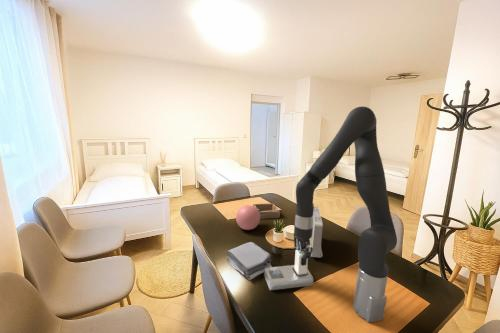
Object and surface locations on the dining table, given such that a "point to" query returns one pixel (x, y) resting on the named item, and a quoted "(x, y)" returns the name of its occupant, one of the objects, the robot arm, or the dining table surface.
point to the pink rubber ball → (248, 217)
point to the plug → (298, 266)
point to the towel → (249, 259)
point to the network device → (316, 234)
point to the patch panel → (286, 277)
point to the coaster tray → (268, 214)
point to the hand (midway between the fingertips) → (301, 261)
